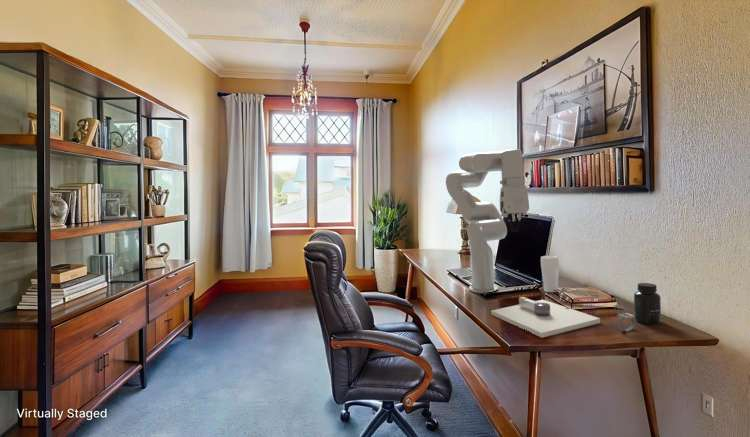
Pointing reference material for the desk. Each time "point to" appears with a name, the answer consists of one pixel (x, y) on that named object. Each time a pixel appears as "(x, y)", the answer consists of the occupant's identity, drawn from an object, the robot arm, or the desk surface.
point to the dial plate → (545, 319)
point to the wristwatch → (626, 316)
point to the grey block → (535, 306)
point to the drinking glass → (550, 272)
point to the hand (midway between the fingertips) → (514, 231)
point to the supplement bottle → (647, 304)
